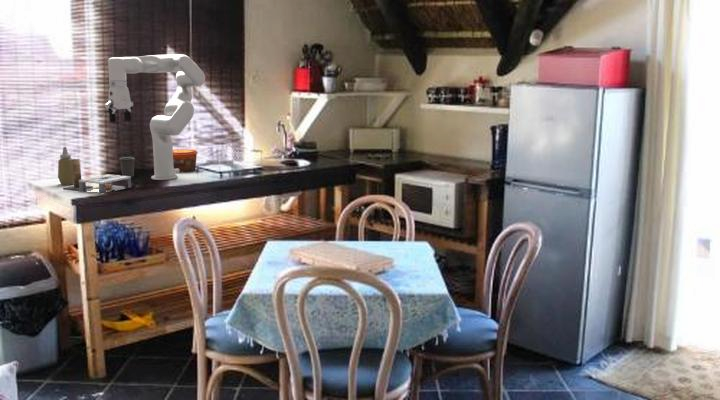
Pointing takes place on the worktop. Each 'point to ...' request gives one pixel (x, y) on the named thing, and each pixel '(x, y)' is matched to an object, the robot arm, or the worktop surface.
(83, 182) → the small grey pallet
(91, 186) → the mat
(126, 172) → the coffee cup
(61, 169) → the squeeze bottle
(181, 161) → the food container
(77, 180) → the dowel
